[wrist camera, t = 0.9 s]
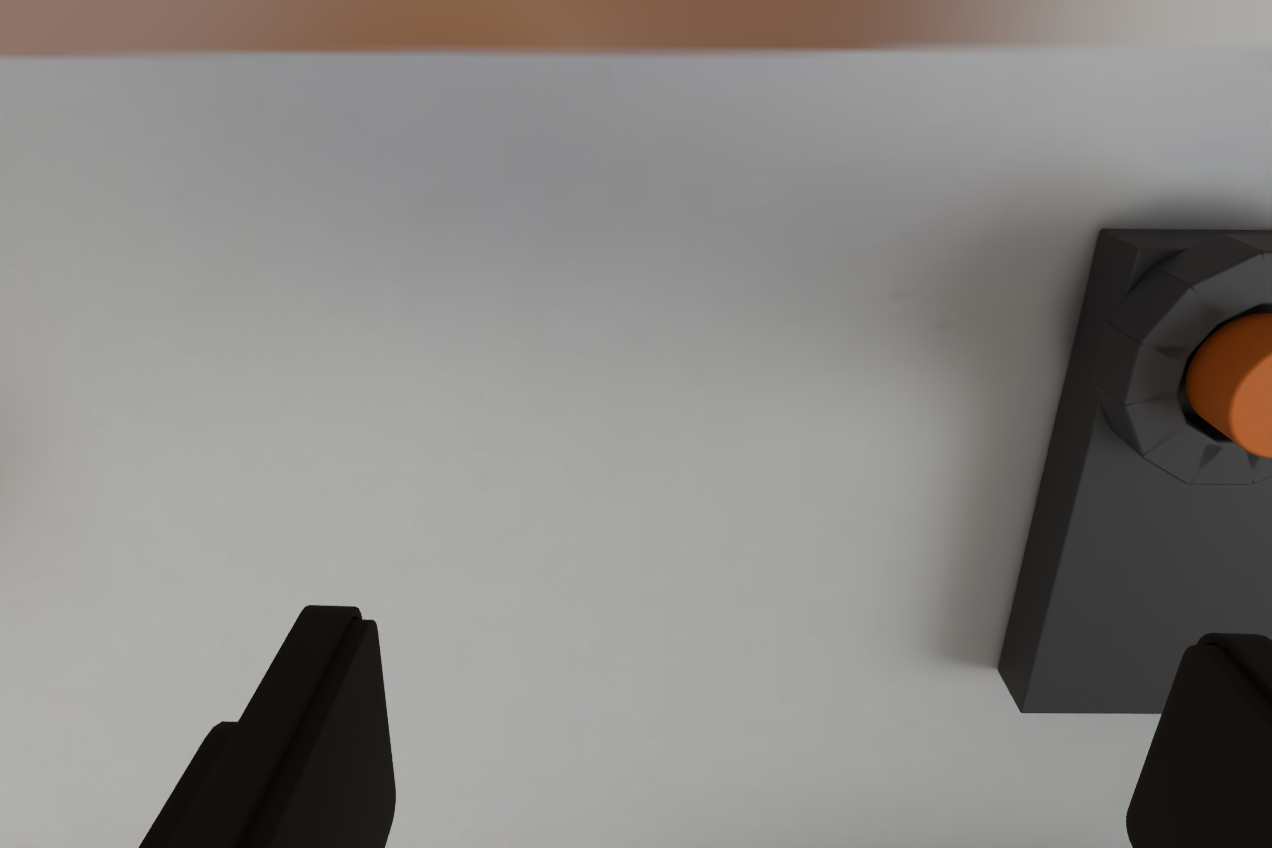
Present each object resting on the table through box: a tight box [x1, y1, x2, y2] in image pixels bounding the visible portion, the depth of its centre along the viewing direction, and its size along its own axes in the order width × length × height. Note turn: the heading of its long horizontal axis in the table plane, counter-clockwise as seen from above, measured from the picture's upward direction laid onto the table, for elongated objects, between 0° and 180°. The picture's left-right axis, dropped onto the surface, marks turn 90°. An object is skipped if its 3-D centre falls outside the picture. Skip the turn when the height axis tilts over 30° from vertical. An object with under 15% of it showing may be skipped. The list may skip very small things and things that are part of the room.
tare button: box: [1186, 313, 1272, 458], centre depth 20 cm, size 3×3×2 cm
